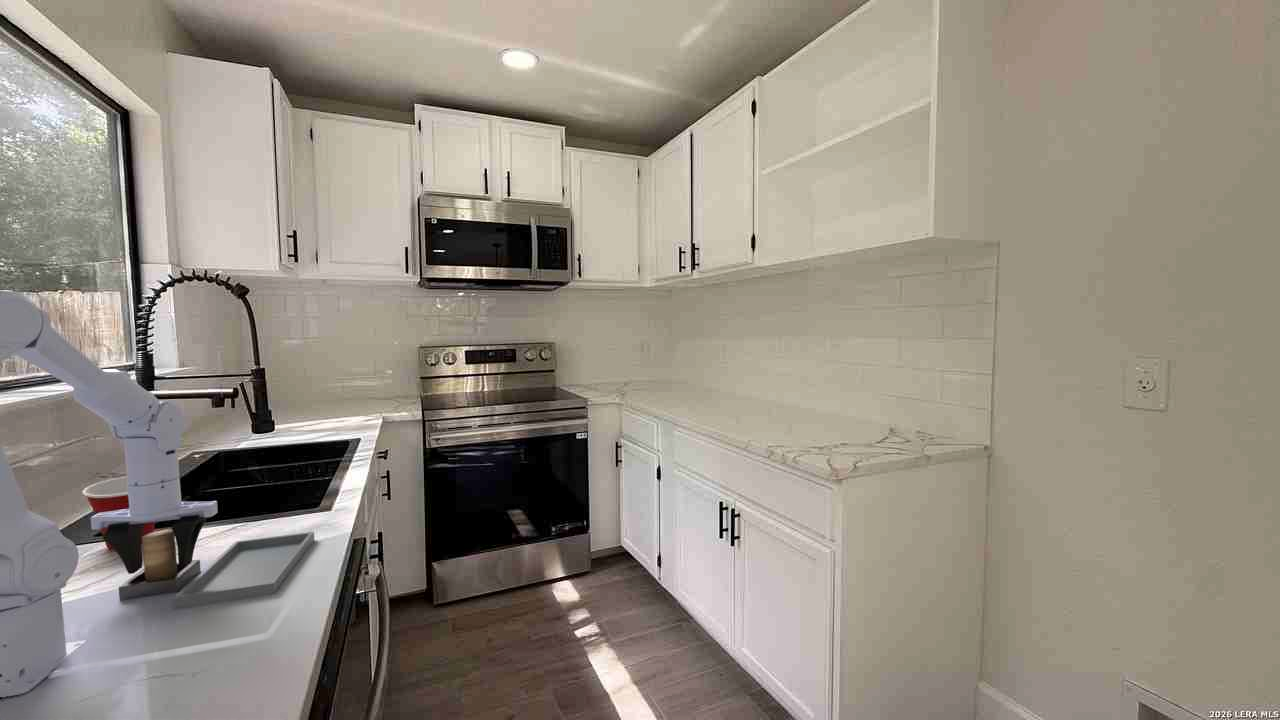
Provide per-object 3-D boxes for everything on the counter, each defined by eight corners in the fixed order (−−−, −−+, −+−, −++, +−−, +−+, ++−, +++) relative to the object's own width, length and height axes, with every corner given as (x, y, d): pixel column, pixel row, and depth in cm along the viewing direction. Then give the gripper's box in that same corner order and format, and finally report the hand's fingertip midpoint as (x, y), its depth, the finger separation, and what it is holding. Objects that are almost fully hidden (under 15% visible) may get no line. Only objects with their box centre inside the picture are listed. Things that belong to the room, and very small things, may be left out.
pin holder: (177, 595, 76) (176, 579, 75) (120, 604, 73) (118, 587, 73) (200, 574, 82) (199, 559, 82) (148, 582, 80) (147, 566, 80)
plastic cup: (86, 565, 86) (80, 496, 85) (88, 546, 94) (82, 483, 93) (172, 544, 94) (168, 481, 93) (167, 529, 102) (163, 470, 101)
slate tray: (274, 597, 75) (273, 583, 75) (174, 613, 71) (173, 597, 71) (314, 543, 94) (313, 531, 94) (237, 553, 90) (236, 541, 90)
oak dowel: (170, 588, 77) (166, 537, 76) (140, 592, 75) (136, 540, 75) (183, 577, 80) (179, 528, 79) (154, 581, 79) (150, 531, 78)
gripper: (224, 468, 83) (229, 549, 84) (110, 478, 78) (118, 563, 79) (202, 480, 76) (208, 568, 77) (77, 492, 71) (85, 585, 72)
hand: (160, 567), depth 78 cm, fingers open, 6 cm apart
